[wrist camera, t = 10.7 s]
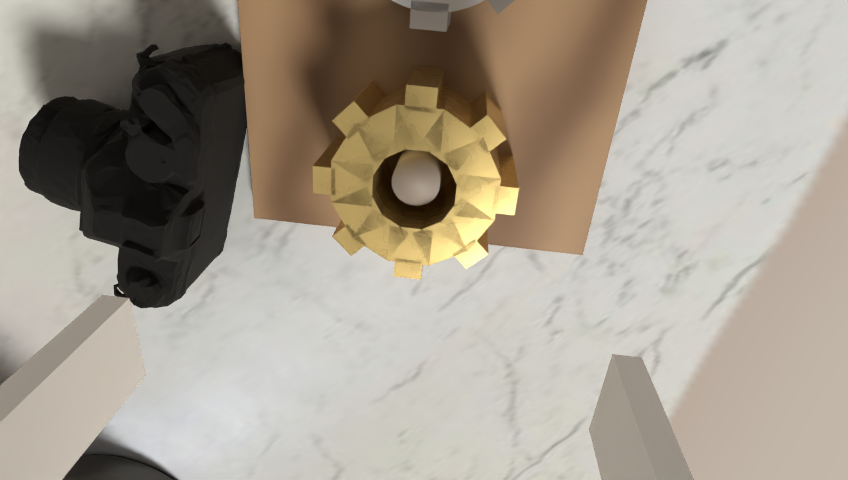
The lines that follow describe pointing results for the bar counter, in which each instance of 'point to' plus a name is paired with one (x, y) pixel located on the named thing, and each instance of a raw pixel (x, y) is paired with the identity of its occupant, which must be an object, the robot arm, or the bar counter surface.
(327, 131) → the gear board
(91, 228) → the film camera
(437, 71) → the brass gear
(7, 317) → the bar counter surface
